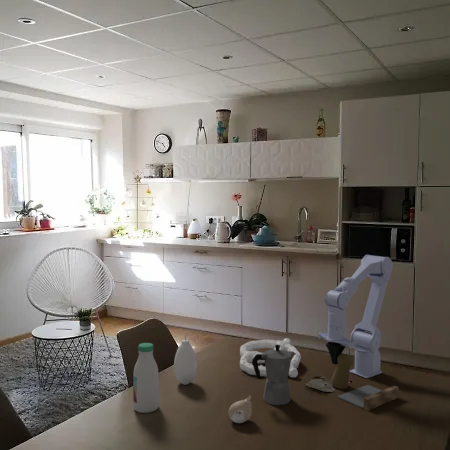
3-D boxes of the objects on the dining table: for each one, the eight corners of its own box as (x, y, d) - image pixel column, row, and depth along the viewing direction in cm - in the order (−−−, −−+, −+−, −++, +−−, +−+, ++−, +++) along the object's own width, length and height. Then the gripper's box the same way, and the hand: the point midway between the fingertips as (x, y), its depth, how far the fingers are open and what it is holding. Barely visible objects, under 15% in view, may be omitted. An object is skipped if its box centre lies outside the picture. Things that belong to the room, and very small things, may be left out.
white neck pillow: (305, 383, 172) (305, 366, 171) (240, 384, 173) (239, 367, 172) (297, 348, 199) (297, 333, 198) (240, 349, 200) (239, 334, 199)
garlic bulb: (243, 429, 135) (244, 401, 135) (224, 423, 139) (224, 396, 138) (255, 419, 141) (255, 393, 140) (236, 414, 144) (236, 388, 144)
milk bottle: (162, 404, 150) (162, 342, 149) (151, 415, 143) (151, 349, 142) (141, 401, 153) (140, 339, 152) (128, 411, 146) (128, 347, 144)
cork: (346, 380, 169) (353, 353, 166) (348, 390, 163) (356, 362, 160) (329, 377, 169) (336, 349, 166) (331, 386, 163) (338, 358, 161)
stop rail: (393, 396, 158) (394, 385, 158) (398, 397, 157) (398, 387, 156) (363, 408, 148) (363, 397, 148) (368, 410, 147) (368, 399, 147)
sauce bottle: (170, 386, 165) (170, 334, 164) (180, 378, 172) (180, 328, 171) (190, 389, 162) (190, 337, 161) (200, 381, 169) (200, 331, 168)
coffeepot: (288, 390, 162) (289, 338, 160) (302, 402, 153) (302, 347, 152) (246, 397, 156) (246, 343, 155) (257, 409, 147) (258, 352, 146)
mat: (367, 385, 166) (367, 384, 166) (392, 395, 158) (392, 394, 158) (337, 397, 157) (337, 396, 157) (362, 408, 149) (362, 407, 149)
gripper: (312, 322, 169) (312, 359, 170) (345, 331, 158) (344, 372, 159) (326, 319, 174) (325, 356, 175) (359, 328, 162) (358, 367, 163)
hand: (335, 363), depth 167 cm, fingers closed
